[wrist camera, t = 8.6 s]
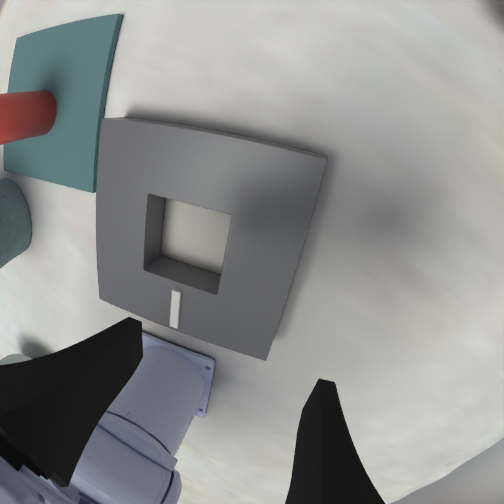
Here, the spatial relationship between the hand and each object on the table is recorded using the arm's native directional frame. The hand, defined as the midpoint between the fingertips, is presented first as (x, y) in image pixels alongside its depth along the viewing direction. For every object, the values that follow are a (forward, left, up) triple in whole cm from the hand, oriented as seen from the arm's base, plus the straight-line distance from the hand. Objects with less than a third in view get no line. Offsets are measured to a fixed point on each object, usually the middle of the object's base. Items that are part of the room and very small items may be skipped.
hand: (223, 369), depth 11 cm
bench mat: (+8, +21, -10) cm, 25 cm away
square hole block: (0, +5, -10) cm, 12 cm away
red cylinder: (+7, +21, -10) cm, 25 cm away
